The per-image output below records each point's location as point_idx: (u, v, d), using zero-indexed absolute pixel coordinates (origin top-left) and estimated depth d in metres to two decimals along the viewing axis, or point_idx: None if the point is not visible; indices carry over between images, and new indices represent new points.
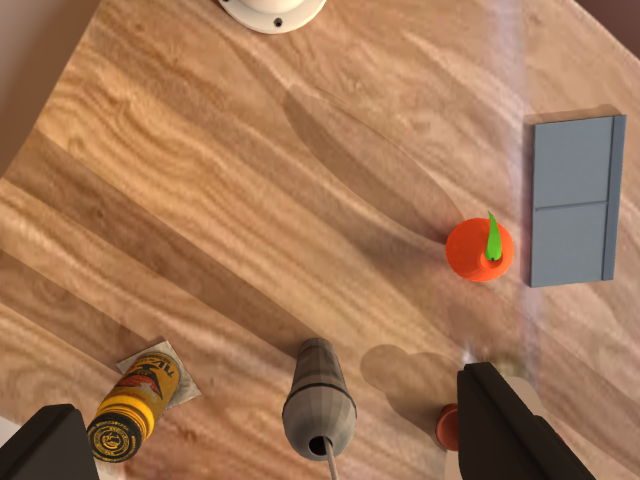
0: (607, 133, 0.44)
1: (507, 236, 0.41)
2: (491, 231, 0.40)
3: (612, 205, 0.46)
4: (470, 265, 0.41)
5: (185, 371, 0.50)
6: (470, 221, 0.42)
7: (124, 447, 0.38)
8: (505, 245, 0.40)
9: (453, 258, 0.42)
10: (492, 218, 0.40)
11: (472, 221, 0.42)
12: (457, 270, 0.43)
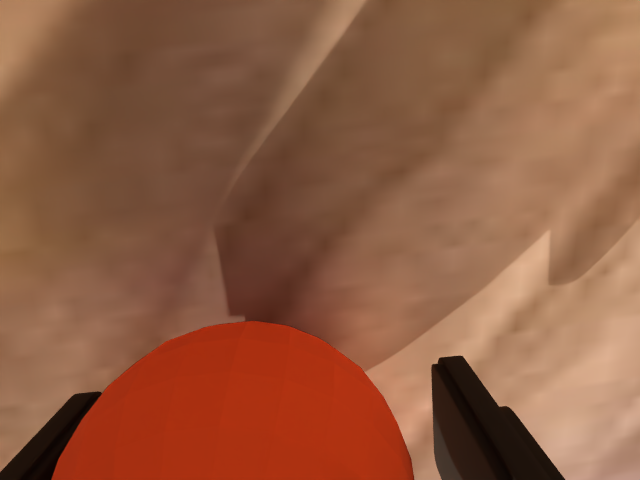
0: None
1: None
2: None
3: None
4: None
5: None
6: (404, 446, 0.08)
7: None
8: None
9: (185, 396, 0.06)
10: None
11: (407, 459, 0.07)
12: (100, 423, 0.06)
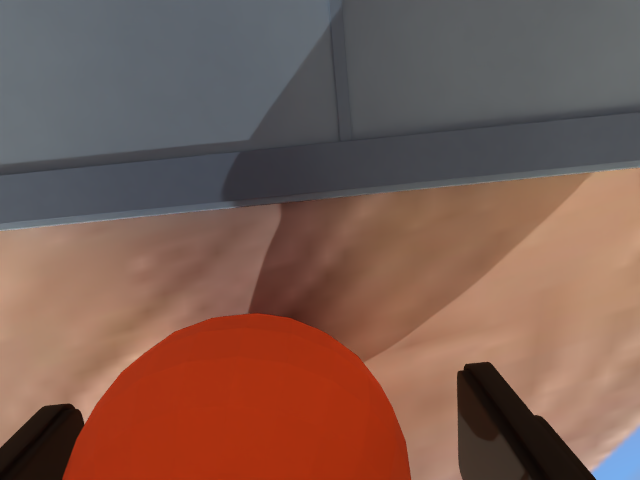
0: None
1: None
2: None
3: (332, 163, 0.10)
4: None
5: None
6: (399, 429, 0.08)
7: None
8: None
9: (195, 378, 0.07)
10: None
11: (401, 441, 0.08)
12: (116, 404, 0.07)
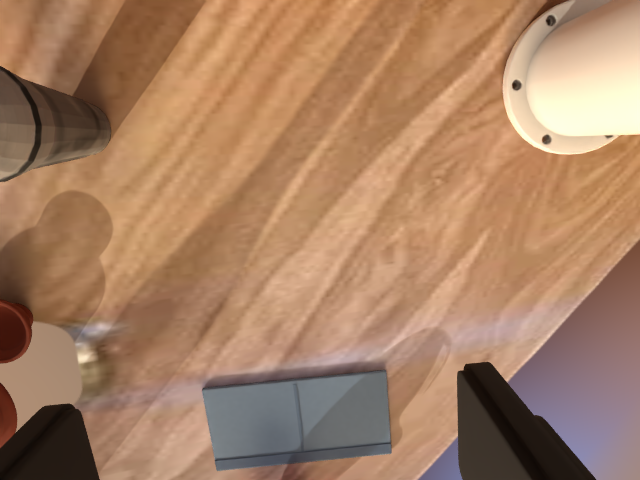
0: (374, 439, 0.43)
1: None
2: None
3: (299, 456, 0.43)
4: None
5: None
6: None
7: None
8: None
9: None
10: None
11: None
12: None
